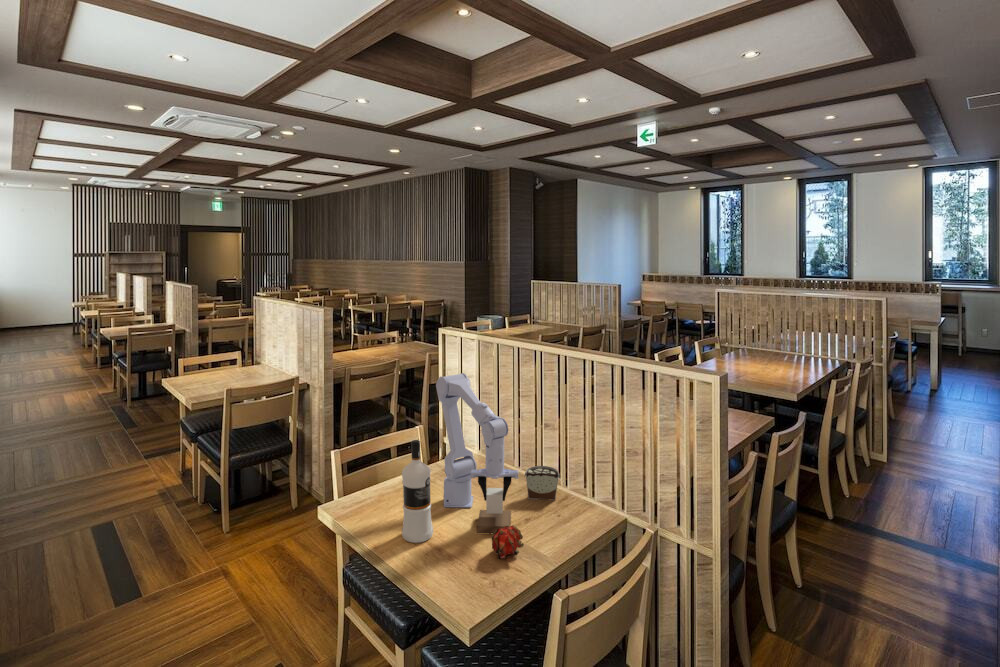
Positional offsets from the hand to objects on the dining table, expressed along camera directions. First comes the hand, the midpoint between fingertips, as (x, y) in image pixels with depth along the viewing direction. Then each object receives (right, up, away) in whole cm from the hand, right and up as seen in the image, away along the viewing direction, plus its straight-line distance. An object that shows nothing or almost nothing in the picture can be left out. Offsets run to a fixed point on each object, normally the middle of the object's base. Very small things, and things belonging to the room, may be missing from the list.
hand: (494, 499), depth 167 cm
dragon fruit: (+4, -11, -14) cm, 19 cm away
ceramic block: (0, -4, +1) cm, 4 cm away
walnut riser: (0, -9, +1) cm, 9 cm away
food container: (+16, -6, +22) cm, 28 cm away
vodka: (-23, -10, -5) cm, 26 cm away
